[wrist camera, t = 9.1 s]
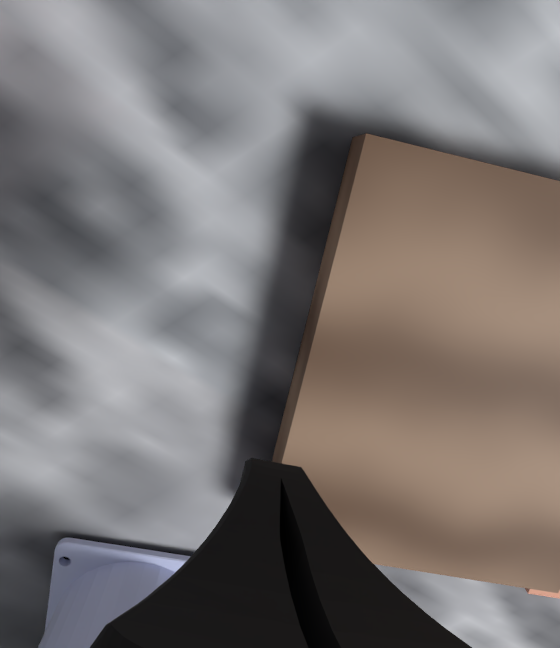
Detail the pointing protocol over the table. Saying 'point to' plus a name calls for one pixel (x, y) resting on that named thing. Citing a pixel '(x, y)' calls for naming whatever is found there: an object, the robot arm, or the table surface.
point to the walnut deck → (436, 367)
